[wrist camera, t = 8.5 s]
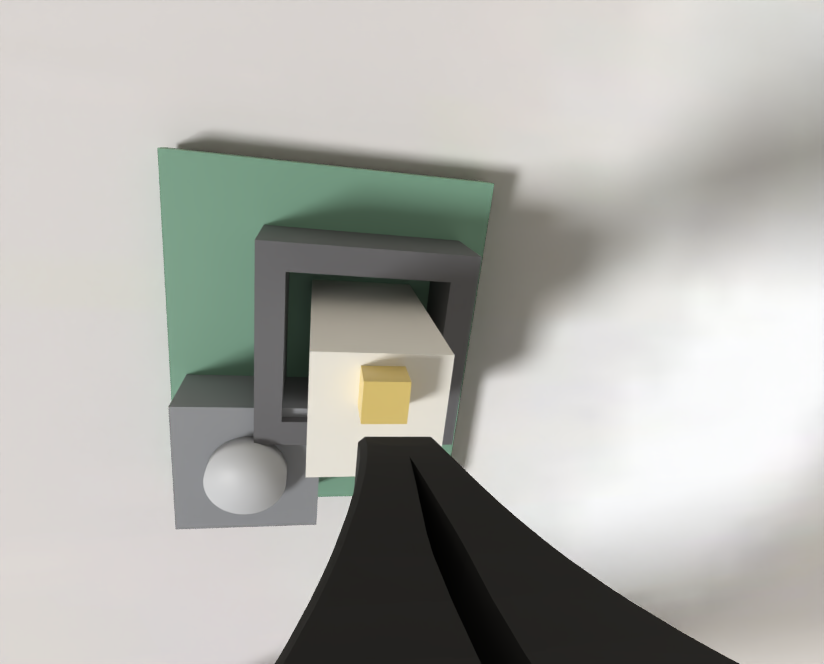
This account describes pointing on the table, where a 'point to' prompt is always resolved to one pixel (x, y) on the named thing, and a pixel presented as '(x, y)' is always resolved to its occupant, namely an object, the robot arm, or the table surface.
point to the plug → (371, 371)
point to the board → (289, 311)
